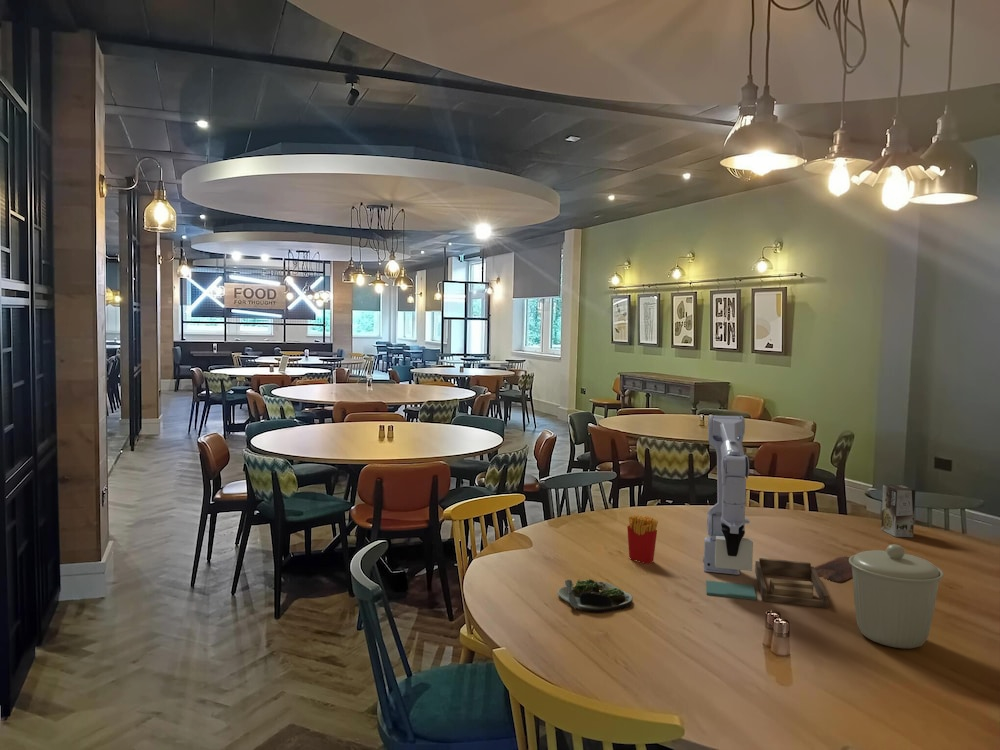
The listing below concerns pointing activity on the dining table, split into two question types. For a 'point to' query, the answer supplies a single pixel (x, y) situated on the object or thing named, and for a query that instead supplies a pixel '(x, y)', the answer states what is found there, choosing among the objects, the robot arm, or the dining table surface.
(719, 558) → the grey sheet
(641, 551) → the french fries
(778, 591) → the offcut block small
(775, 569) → the rack
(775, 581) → the offcut block large
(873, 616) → the canister
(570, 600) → the salad plate
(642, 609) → the dining table surface
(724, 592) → the mat
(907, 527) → the coffee box
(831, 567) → the wooden tablet
